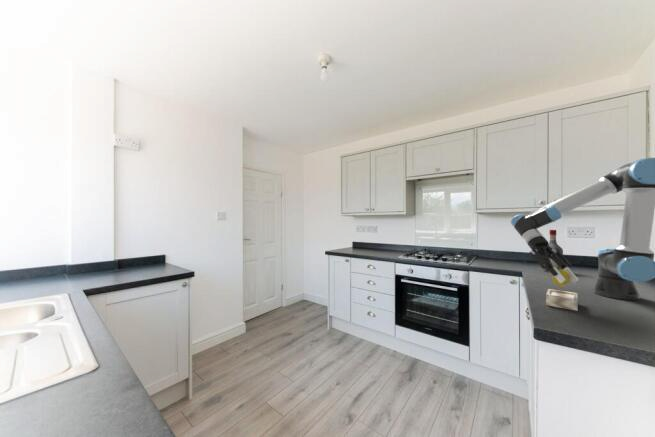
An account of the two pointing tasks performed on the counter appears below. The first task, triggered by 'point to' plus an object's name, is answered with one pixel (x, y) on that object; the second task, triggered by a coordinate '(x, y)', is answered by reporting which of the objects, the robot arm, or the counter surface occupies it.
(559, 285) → the lemon
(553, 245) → the liquor
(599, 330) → the counter surface
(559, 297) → the display riser
